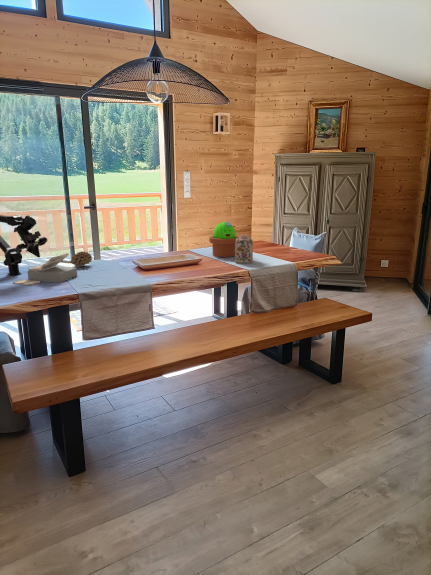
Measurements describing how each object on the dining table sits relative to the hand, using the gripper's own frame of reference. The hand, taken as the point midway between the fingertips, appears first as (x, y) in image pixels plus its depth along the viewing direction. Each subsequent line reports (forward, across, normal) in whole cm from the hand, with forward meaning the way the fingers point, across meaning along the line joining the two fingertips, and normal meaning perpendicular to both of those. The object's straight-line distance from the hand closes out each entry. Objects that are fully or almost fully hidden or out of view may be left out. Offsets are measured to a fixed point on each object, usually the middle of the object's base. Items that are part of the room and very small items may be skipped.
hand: (39, 257), depth 241 cm
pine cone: (+10, +27, +14) cm, 32 cm away
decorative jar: (+66, +100, -51) cm, 130 cm away
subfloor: (+14, +2, +2) cm, 14 cm away
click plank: (+8, +3, -5) cm, 10 cm away
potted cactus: (+54, +111, -31) cm, 127 cm away
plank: (+11, -13, +4) cm, 18 cm away
